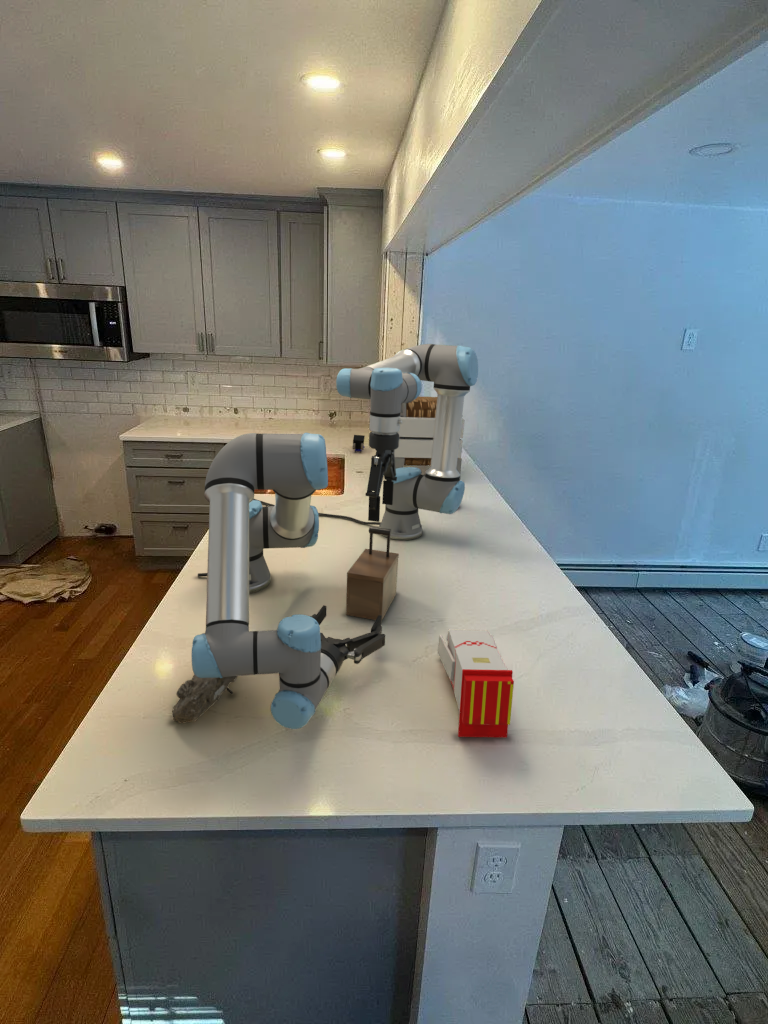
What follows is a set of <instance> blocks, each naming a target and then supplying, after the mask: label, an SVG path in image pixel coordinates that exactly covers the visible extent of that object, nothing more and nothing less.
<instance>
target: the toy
mask: <svg viewBox="0 0 768 1024" xmlns="http://www.w3.org/2000/svg"><path fill="white" fill-rule="evenodd" d="M446 640H447V643H446V641H445V639H444V636H443V635H442V634H439V637H438V646H437V656H438V657H439V659H440V661H441V663H442V666H443V668H444V670H445V672H446V674H447V677H448V679H449V681H450V684H451V687H452V690H453V693H454V697H455V701H456V705H457V708H458V711H459V714H458V715H459V716H458V730H457V731H458V732H457V737H458V738H508V731H509V726H510V725H511V717H512V707H513V697H514V696H513V695H514V684H515V680H514V679H513V673H514V671H513V670H512V669H508V667H507V665H506V662H505V661H504V659H503V658H502V655H501V653H500V651H499V649H498V647H497V643H496V639H495V637H494V635H493V634H491V632H490V631H489V629H467V628H466V629H465V628H463V629H461V628H460V629H459V628H448V630H447V639H446Z"/></svg>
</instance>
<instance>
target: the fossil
mask: <svg viewBox="0 0 768 1024" xmlns="http://www.w3.org/2000/svg"><path fill="white" fill-rule="evenodd" d="M237 678H238V676H231V677H223V678H198V677H197V676H196V675H195V674H194V673H193V675H192V678H191V679H187V680H186V681H185V682H184V683H182V684H181V685H180V686H179V687H178V689H177V691H176V693H175V694H176V696H177V698H179V699H178V700H177V702H176V704H174V705H173V706H172V711H171V713H172V714H171V715H172V720H173V722H178V724H186V723H190V722H195V721H197V720H198V719H199V718H201V716H202V715H203V714H205V713H206V712H207V711H208V710H209V709H210V708H211V707H212V706H213V705H215V703H217V702H218V701H219V699H220V698H221V696H222V694H223V693H226V691H227V692H228V693H229V694H230V695H233V694H234V692H233V691H232V689H230V688H229V686H230V684H231V683H234V682H235V680H236V679H237Z"/></svg>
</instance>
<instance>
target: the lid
mask: <svg viewBox="0 0 768 1024" xmlns="http://www.w3.org/2000/svg"><path fill="white" fill-rule="evenodd" d="M391 533H392V530H391V529H386V528H379V526H373V525H369V528H368V534H369V545H368V548H365V549H364V550H363V551H362V552H361V554H360V555H359V556H358V558H357V559H356V560H355V561H354V562H353V564H352V566H351V567H350V568H349V569H348V571H347V572H346V578H347V577H350V578H357V579H363V580H369V581H375V582H381V583H384V581H385V579H386V578H387V576H388V574H389V573H390V571H391V569H392V568H393V566H394V564H395V563H396V561H397V559H398V560H399V558H400V557H399V555H400V553H399V552H392V551H390V550H391V539H390V536H391ZM374 535H379V536H383V535H386V536H387V537H386V551H385V550H379V549H378V550H377V549H373V544H374V543H373V541H374Z"/></svg>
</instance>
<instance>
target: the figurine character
mask: <svg viewBox="0 0 768 1024" xmlns="http://www.w3.org/2000/svg"><path fill="white" fill-rule="evenodd" d="M351 447H352V450H354V453H357V452H359V453H360V454H361V453H362V450H364V449H365V435H361V434H353V439H352V446H351Z"/></svg>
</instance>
